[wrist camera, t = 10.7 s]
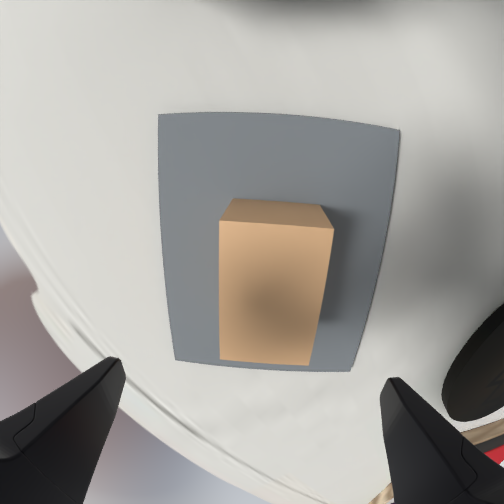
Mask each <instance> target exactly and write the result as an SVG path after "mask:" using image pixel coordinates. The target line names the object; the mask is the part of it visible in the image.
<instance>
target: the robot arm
mask: <svg viewBox="0 0 504 504" xmlns="http://www.w3.org/2000/svg"><path fill="white" fill-rule="evenodd" d="M125 380H126V375H125V371H124V368H123V365H122V362H121V360H120V359H119V358H115V357H107V358H105V359H104V360H102V361H101V362H99V363H98V364H96V365H94V366H93V367H91V368H90V369H88V370H86V371H85V372H83V373H82V374H80V375H78V376H77V377H75V378H74V379H72V380H70V381H69V382H68V383H66V384H64V385H62V386H61V387H59V388H58V389H56V390H54V391H53V392H51V393H50V394H48V395H46V396H45V397H43V398H42V399H40V400H38V401H37V402H36V403H33V404H32V405H30V406H28V407H27V408H25V409H23V410H21V411H20V412H18V413H16V414H14V415H12V416H10V417H9V418H6V419H4V420H2V421H0V504H83V502H84V499H85V496H86V493H87V490H88V487H89V484H90V482H91V479H92V476H93V473H94V470H95V467H96V465H97V462H98V460H99V457H100V454H101V451H102V449H103V446H104V444H105V441H106V438H107V436H108V433H109V431H110V428H111V426H112V423H113V421H114V418H115V415H116V412H117V409H118V405H119V402H120V398H121V394H122V391H123V387H124V384H125ZM380 406H381V416H382V428H383V437H384V443H385V448H386V453H387V459H388V464H389V470H390V476H391V482H392V489H393V495H394V503H395V504H504V468H503V467H502V466H500V465H499V464H498V463H496V462H495V461H494V460H492V459H491V458H489V457H488V456H487V455H486V454H484V453H483V452H482V451H480V450H479V449H478V448H477V447H476V446H475V445H473V444H472V443H471V442H470V441H469V440H468V439H467V438H466V437H465V436H463V435H462V434H461V433H460V432H459V431H458V430H457V429H456V428H455V427H454V426H453V425H451V424H450V423H449V422H448V421H447V420H446V419H445V418H444V417H443V416H442V415H441V414H439V413H438V412H437V411H436V410H435V409H434V408H433V407H432V406H431V405H430V404H429V403H427V402H426V401H425V400H424V399H423V398H422V397H421V396H420V395H419V394H418V393H416V392H415V391H414V390H413V389H412V388H411V387H410V386H409V385H408V384H407V383H406V382H404V381H403V380H402V379H401V378H399V377H393V378H388V379H387V381H386V383H385V385H384V387H383V390H382V392H381V394H380Z"/></svg>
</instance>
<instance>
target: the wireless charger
mask: <svg viewBox="0 0 504 504" xmlns="http://www.w3.org/2000/svg"><path fill="white" fill-rule="evenodd" d="M442 401H443V404H444V406H445V408H446V410H447V412H448V414H449V416H450V417H451V418H452V419H454V420H456V421H460V422H467V421H473V420H477V419H480V418H482V417H485V416H487V415H489V414H491V413H493V412H495V411H497V410H498V409H500V408H502V407H503V406H504V304H502V305H501V306H500V307H499V308H498V309H497V310H496V311H494V312H493V313H492V314H491V315H490V316H489V317H488V318H487V319H486V320H485V321H484V322H483V324H482V325H481V326H480V327H479V328H478V329H477V330H476V331H475V333H474V334H473V335H472V336H471V337H470V339H469V340H468V341H467V343H466V344H465V345H464V347H463V348H462V349H461V351H460V352H459V354H458V355H457V357H456V359H455V360H454V362H453V364H452V365H451V367H450V369H449V371H448V373H447V376H446V378H445V381H444V384H443V388H442Z"/></svg>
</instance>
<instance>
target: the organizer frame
mask: <svg viewBox="0 0 504 504" xmlns="http://www.w3.org/2000/svg"><path fill="white" fill-rule="evenodd" d="M461 434H462V435H463V436H465V437H466V438H467V439H468V440H469V441H470V442H471V443H472V444H473V445H476V444H479V443H482V442H484V441H487V440H490V439H492V438H495V437H497V436H500V435H502V434H504V419H501V420H498V421H496V422H493V423H490V424H487V425H484V426H481V427H478V428H475V429H471V430H468V431H465V432H461ZM393 497H394V495H393V489H392V482H391V483H390V484H389V485H388V486H387V487H386V488H385V489H384V490H383V491H382V492H381V493H380V494H379V495H378V496H377V497H375V498H374V499H373V500H372V501H371V502H370V503H369V504H386V503H387V502H389V501H390V500H391V499H392V498H393Z"/></svg>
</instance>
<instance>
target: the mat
mask: <svg viewBox="0 0 504 504" xmlns="http://www.w3.org/2000/svg"><path fill="white" fill-rule="evenodd" d="M399 132H400V130H397V129H392V128H387V127H382V126H376V125H370V124H364V123H358V122H351V121H344V120H337V119H329V118H320V117H310V116H300V115H287V114H271V113H246V112H199V113H174V114H158V179H159V207H160V226H161V241H162V254H163V266H164V276H165V286H166V296H167V304H168V313H169V320H170V328H171V335H172V342H173V349H174V355H175V360H178V361H185V362H192V363H200V364H208V365H217V366H227V367H237V368H249V369H263V370H280V371H308V372H350V370H351V367H352V364H353V361H354V358H355V355H356V352H357V349H358V346H359V343H360V339H361V336H362V333H363V329H364V326H365V322H366V319H367V315H368V312H369V308H370V304H371V300H372V296H373V292H374V288H375V284H376V280H377V276H378V272H379V267H380V263H381V258H382V253H383V248H384V243H385V238H386V233H387V227H388V222H389V216H390V209H391V203H392V196H393V189H394V182H395V174H396V165H397V155H398V145H399ZM233 198H235V199H252V200H267V201H281V202H294V203H306V204H317V205H320V206H321V208H322V209H323V211H324V213H325V214H326V216H327V218H328V219H329V221H330V223H331V224H332V226H333V228H334V234H333V240H332V247H331V253H330V260H329V266H328V272H327V278H326V283H325V289H324V294H323V300H322V305H321V310H320V315H319V320H318V325H317V330H316V335H315V339H314V344H313V349H312V353H311V358H310V362H309V366H306V365H283V364H267V363H254V362H242V361H231V360H222V359H220V344H219V220H220V219H221V217H222V215H223V214H224V212H225V210H226V209H227V207H228V206H229V204H230V202H231V201H232V199H233Z"/></svg>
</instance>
